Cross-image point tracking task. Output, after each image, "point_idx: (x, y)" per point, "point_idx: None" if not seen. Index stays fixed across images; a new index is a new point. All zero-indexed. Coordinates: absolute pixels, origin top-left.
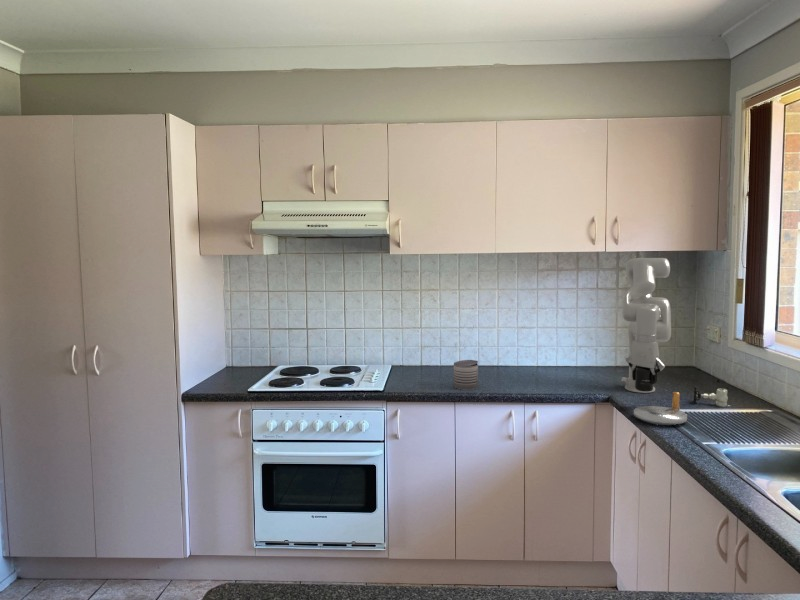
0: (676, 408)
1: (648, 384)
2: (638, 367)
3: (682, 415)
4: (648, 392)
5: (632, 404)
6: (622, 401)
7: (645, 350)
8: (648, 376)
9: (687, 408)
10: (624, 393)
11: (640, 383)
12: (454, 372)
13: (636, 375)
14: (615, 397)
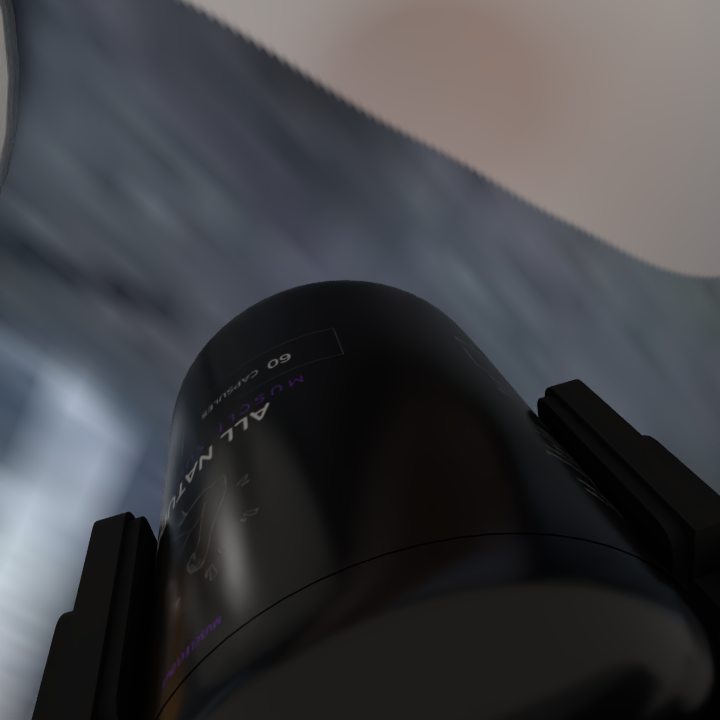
0: None
1: (166, 467)
2: (606, 702)
3: None
4: None
5: (425, 255)
6: (569, 240)
7: None
8: (153, 616)
9: (45, 655)
10: (714, 460)
11: (296, 349)
12: None
13: (495, 429)
14: (704, 286)
